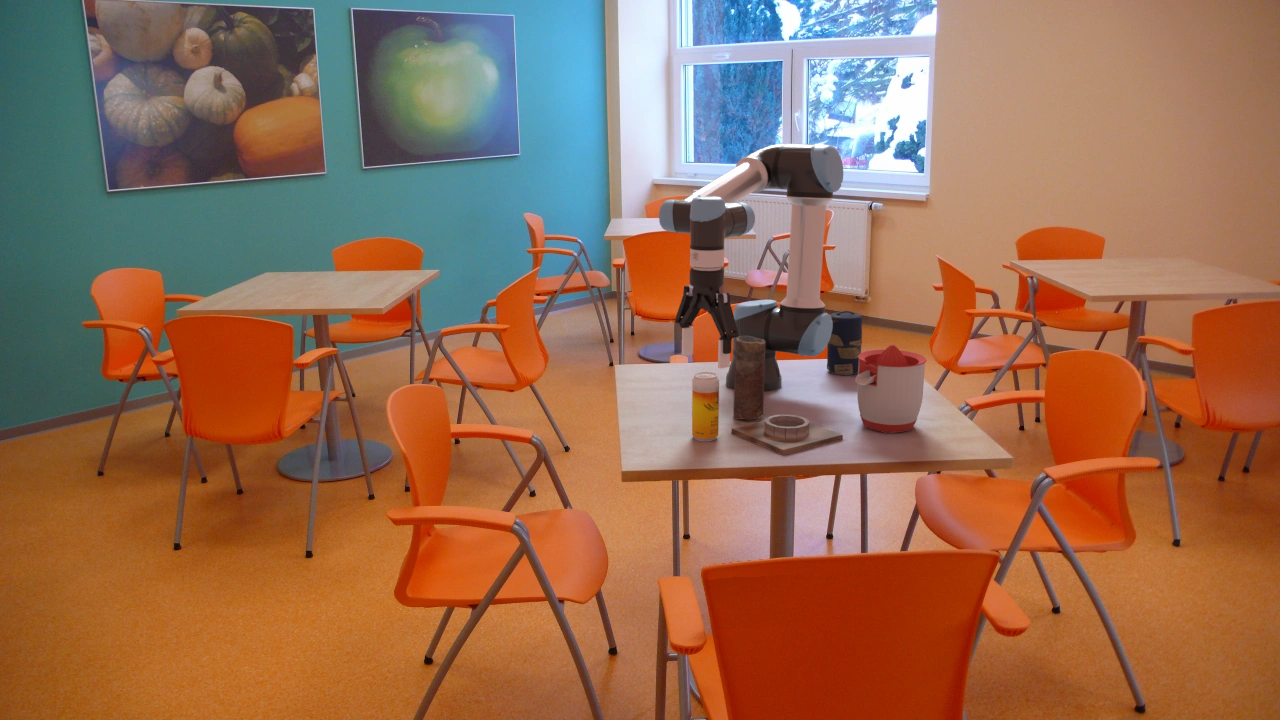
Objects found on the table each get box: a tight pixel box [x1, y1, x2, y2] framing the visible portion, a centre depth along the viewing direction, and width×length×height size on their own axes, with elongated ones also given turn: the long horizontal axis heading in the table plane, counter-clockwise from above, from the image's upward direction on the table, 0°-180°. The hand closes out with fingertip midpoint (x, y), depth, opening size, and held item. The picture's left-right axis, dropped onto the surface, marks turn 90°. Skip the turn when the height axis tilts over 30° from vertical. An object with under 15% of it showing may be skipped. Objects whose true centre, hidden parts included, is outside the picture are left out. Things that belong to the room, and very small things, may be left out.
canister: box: [826, 310, 863, 376], centre depth 280 cm, size 10×10×18 cm
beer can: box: [691, 371, 720, 442], centre depth 226 cm, size 6×6×15 cm
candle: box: [733, 336, 765, 421], centre depth 240 cm, size 8×7×20 cm
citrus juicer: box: [854, 344, 927, 434], centre depth 232 cm, size 16×17×20 cm
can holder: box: [731, 414, 844, 456], centre depth 228 cm, size 18×18×4 cm
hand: (705, 361), depth 223 cm, fingers open, 13 cm apart
